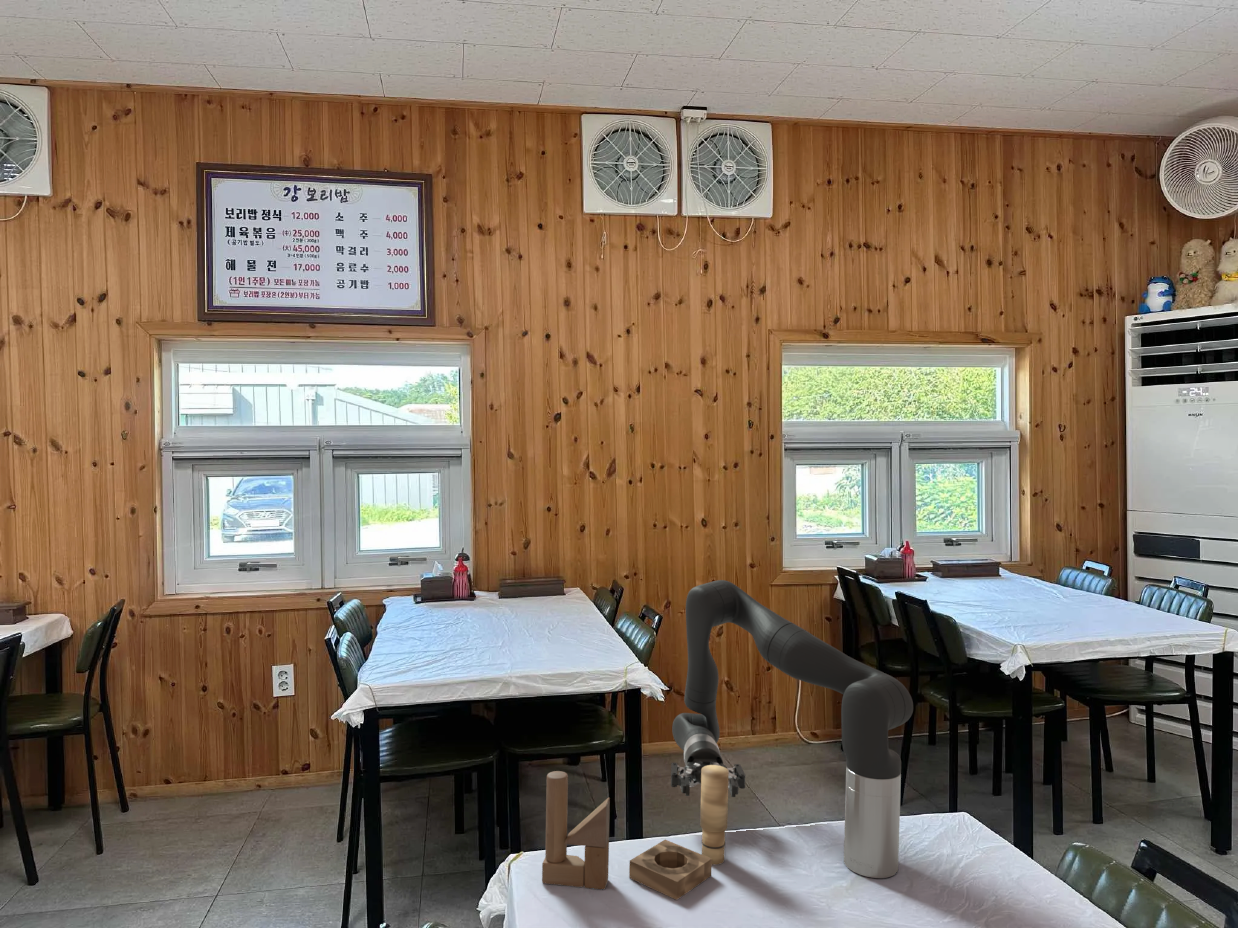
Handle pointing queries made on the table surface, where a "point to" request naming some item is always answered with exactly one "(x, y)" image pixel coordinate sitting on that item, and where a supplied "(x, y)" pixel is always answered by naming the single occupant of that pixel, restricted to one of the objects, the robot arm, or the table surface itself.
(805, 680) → the robot arm
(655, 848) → the square wooden ring
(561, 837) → the wooden block
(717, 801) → the oak leg
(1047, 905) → the table surface
